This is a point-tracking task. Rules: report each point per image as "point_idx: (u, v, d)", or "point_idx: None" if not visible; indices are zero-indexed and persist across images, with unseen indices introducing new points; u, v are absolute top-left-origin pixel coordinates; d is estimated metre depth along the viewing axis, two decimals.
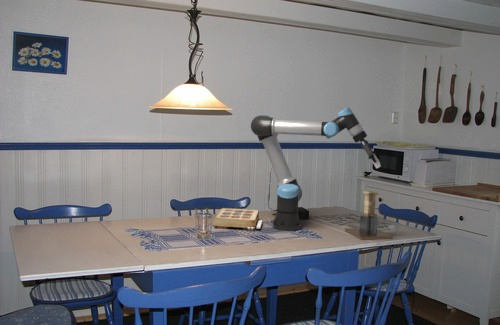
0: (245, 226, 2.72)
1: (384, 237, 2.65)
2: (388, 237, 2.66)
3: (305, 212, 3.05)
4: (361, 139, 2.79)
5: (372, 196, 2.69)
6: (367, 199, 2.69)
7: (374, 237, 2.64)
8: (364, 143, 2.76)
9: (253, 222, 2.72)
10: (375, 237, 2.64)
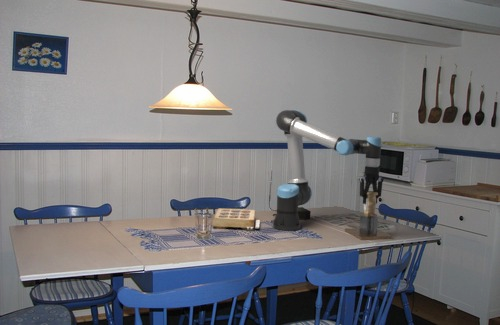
0: (244, 226, 2.73)
1: (384, 237, 2.65)
2: (388, 237, 2.66)
3: (306, 212, 3.04)
4: (365, 173, 2.68)
5: (372, 196, 2.69)
6: None
7: (374, 237, 2.64)
8: (361, 181, 2.67)
9: (252, 222, 2.72)
10: (375, 237, 2.64)
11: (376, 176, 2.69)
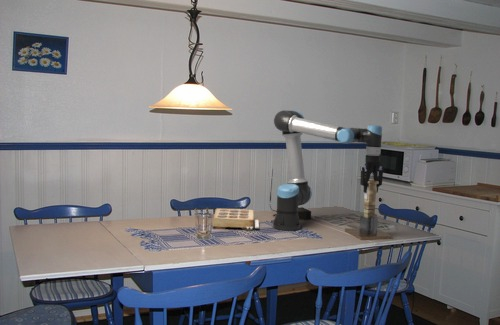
0: (244, 226, 2.73)
1: (384, 237, 2.65)
2: (388, 237, 2.66)
3: (307, 212, 3.04)
4: (366, 161, 2.67)
5: (373, 185, 2.68)
6: None
7: (374, 237, 2.64)
8: (361, 170, 2.67)
9: (252, 222, 2.72)
10: (375, 237, 2.64)
11: (377, 165, 2.68)
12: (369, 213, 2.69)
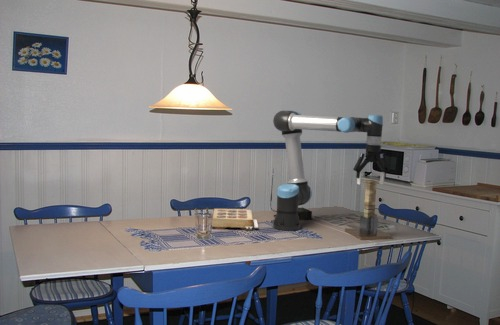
0: (243, 226, 2.73)
1: (384, 237, 2.65)
2: (388, 237, 2.66)
3: (308, 213, 3.03)
4: (366, 151, 2.67)
5: (373, 185, 2.68)
6: (368, 188, 2.69)
7: (374, 237, 2.64)
8: (361, 156, 2.66)
9: (251, 222, 2.73)
10: (375, 237, 2.64)
11: (377, 154, 2.68)
12: (369, 213, 2.69)
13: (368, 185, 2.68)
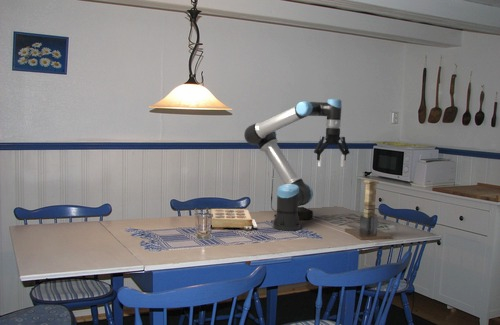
0: (242, 226, 2.73)
1: (384, 237, 2.65)
2: (388, 237, 2.66)
3: (308, 212, 3.03)
4: (326, 134, 2.76)
5: (373, 185, 2.68)
6: (368, 188, 2.69)
7: (374, 237, 2.64)
8: (321, 138, 2.75)
9: (250, 221, 2.73)
10: (375, 237, 2.64)
11: (337, 137, 2.77)
12: (369, 213, 2.69)
13: (368, 185, 2.68)
